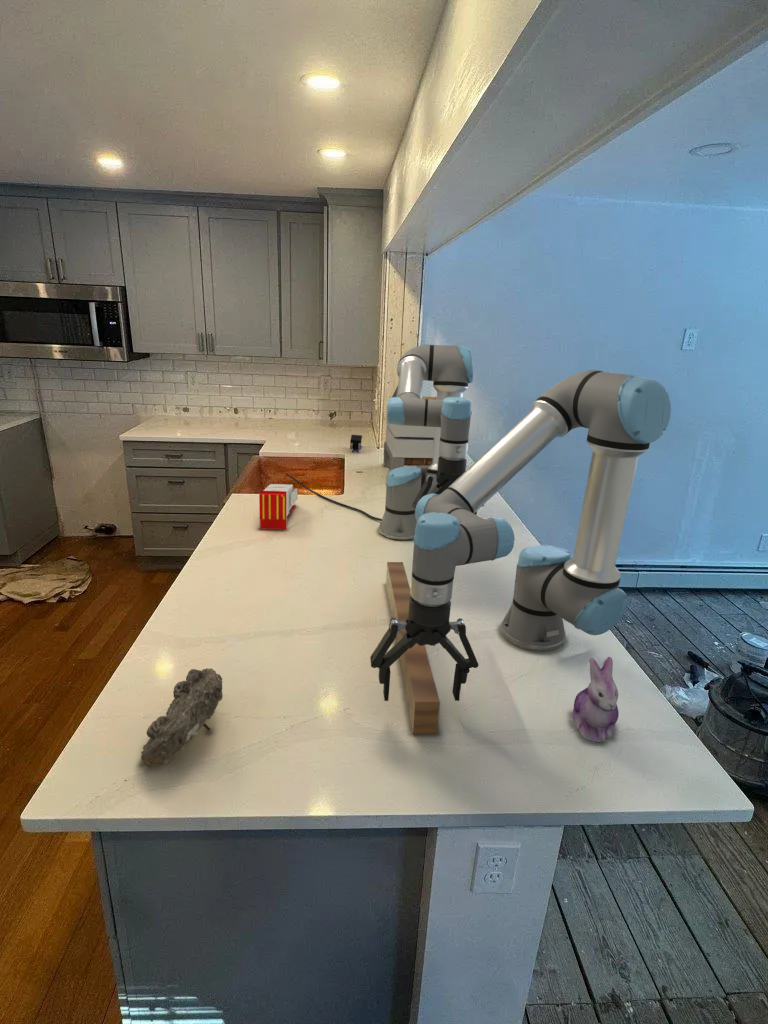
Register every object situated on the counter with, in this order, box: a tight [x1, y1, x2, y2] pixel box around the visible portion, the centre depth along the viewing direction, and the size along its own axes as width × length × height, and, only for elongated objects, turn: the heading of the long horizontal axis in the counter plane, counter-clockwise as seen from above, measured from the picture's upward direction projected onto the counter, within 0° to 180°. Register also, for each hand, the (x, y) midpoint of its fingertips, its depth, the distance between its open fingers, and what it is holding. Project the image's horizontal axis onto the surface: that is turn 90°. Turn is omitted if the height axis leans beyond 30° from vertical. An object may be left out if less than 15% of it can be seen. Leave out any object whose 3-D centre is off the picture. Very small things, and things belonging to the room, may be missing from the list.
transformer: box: [383, 385, 437, 472], centre depth 268 cm, size 34×33×41 cm
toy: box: [258, 483, 299, 530], centre depth 210 cm, size 12×13×30 cm
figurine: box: [571, 656, 620, 743], centre depth 107 cm, size 9×10×15 cm
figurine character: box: [349, 434, 363, 453], centre depth 311 cm, size 7×8×15 cm
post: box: [385, 561, 441, 735], centre depth 133 cm, size 60×5×7 cm, turn 5°
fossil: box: [140, 667, 224, 767], centre depth 103 cm, size 22×10×15 cm
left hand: (446, 531), depth 157 cm, fingers open, 13 cm apart
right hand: (420, 696), depth 109 cm, fingers open, 13 cm apart
